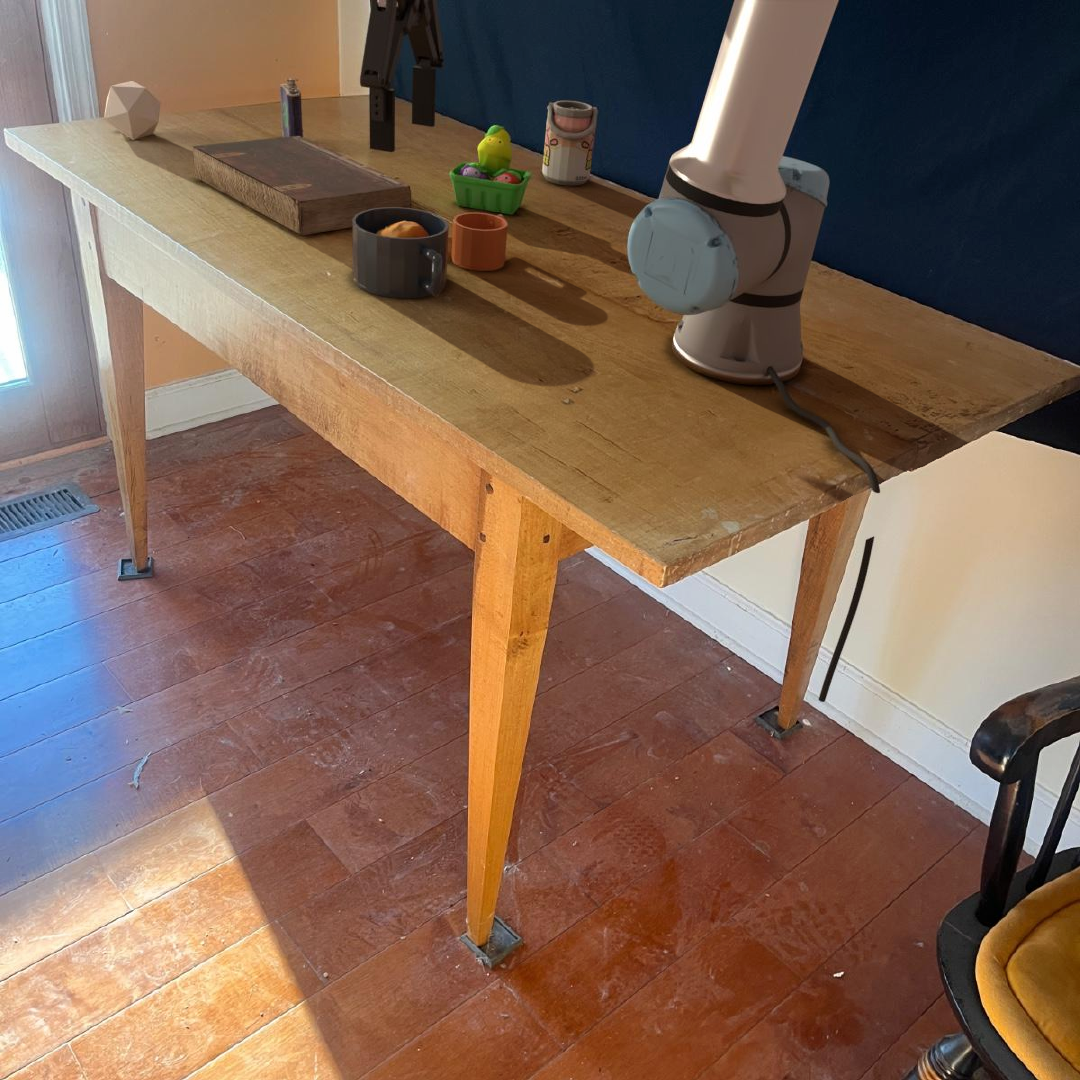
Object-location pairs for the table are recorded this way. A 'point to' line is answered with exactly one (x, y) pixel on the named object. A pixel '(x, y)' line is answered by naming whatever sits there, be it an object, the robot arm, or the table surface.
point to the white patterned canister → (569, 142)
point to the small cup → (479, 241)
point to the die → (132, 110)
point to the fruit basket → (491, 177)
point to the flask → (291, 109)
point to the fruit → (404, 230)
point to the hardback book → (297, 182)
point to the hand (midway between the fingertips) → (403, 137)
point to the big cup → (399, 254)
